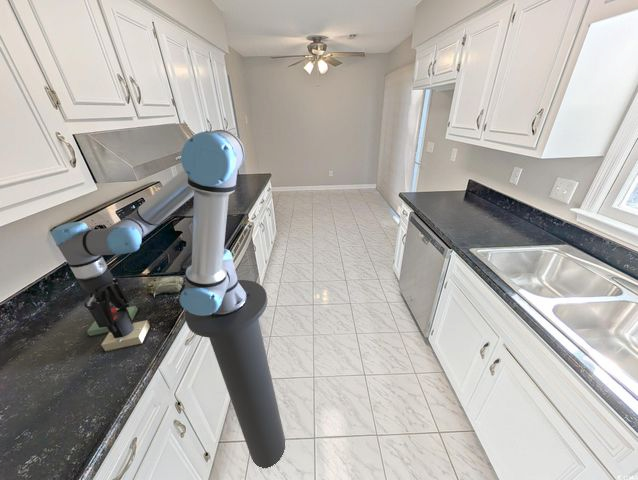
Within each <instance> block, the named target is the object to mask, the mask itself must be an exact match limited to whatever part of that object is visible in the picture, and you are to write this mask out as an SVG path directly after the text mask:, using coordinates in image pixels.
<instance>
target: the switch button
mask: <svg viewBox="0 0 638 480" xmlns="http://www.w3.org/2000/svg"><path fill="white" fill-rule="evenodd" d="M110 308H111V312H112V314H114V313H116V312H117V310H116V308H117V307H110Z"/></svg>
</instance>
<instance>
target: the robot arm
mask: <svg viewBox="0 0 638 480" xmlns="http://www.w3.org/2000/svg"><path fill="white" fill-rule="evenodd" d="M182 146H183V147H182V149H181V152H180V162H181V166H182V169H181V170H180V171H178V173H176V174H175V175H174V176H173V177H172V178H171V179H170V180H168V182H166V183H165V184H164V185H163V186H161V187H160V188H159V189H158V190H157V191H156V192H155V193H153V194H152V195H151V196H150V197H148V199H146V200H145V201H144V202H143V203H142V204H140V206H138V207H137V208H136V209H135V210H134V211H132V212H131V213H130V214H128V215H127V216H126V217H124V218H123V219H120V220H119V221H117V222H115V223H114V224H112V225H110V226H109V227H106V228H97V229H90V227H89V226H88V225H87V223H85V222H83V221H74V222H69V223H65V224H61V225H59V226H57V227H54V228H53V229H52V230H51V236H52V238H53V240H54V242H55V245H56V247H57V248H58V249H59V251H60V253H61V254H62V256H63V257H64V259H65V261H66V262H67V264H68V266H69V269H70V270H71V271H72V273H73V275H74V277H75V278H76V279H77V281H78V283H79V285H80V286H81V288H82V290H84V291H86V292H87V293H88V295H89V298H90V299H89V300H88V302H84V304H83V306H84V307H85V308H86V309H87V310H88V311H89V313H90V314H91V316H92V317H93V319H94V322H95V321H96V323H97V325H98V326H99V328H102V327H107V328H108V330H109V332H111V333H112V335H113V336H114V338H120V337H124V336H125V335H124V333H123V331H122V329H121V328H120V326H119V324H118V322H117V321H114V319H113V315H112V312H111V308H112V307H111V306H110V303H111V304H112V305H113V306H114V307H115V308H117V309H119V310H117V312H119V311H125V312H126V314H127V316H128V317H129V319H130V321H131V323H132V324H133V323H134V321H133V320H132V319H131V317H130V315H129V312H128V310H127V308H128V307H130V304H129V302H130V301H129V298H128V295H127V294H126V292H125V290H124V288H123V286H122V284H121V279H120V277H114V276H113V273H112V272H111V270H110V268H108V264H107V262H106V261H105V259H104V257H103V256H110V255H111V256H113V255H126V254H130V253H135V252H137V251H138V250H139V249H140V248H141V246H140V245H142V238H143V237H144V236H146V235H147V234H149V233H150V232H152V231H153V230H154V229H155V228H156V227H157V226H158V225H160V223H162V222H163V221H165V219H167V218H168V217H169V216H171V215H172V214H173V213H174V212H175V211H177V210H178V209H179V208H180V207H181V206H183V205H184V204H185V203H186V202H188V201H189V200H190V199H192V198H193V210H192V239H191V241H192V242H191V243H192V244H191V265H189V266H188V267H187V268H186V270H185V283H184V288H183V290H182V291H181V292H180V294H179V295H180V296H179V298H178V299H179V304H180V306H181V307H182V309H184V311H186V310H187V311H188V312H190V313H192V314H195V315H200V316H205V315H210V314H211V315H214V316H226V315H230V314H233V313H235V312H237V311H238V310H240V309H241V308H242V307H243V306H244V305H245V304H246V301H247V296H246V294H250V292H245V291H244V289H243V288H242V287H241V285H240V284H239V283H238V280H239V279H238V275H237V271H236V266H235V263H234V259H233V258H234V257H233V256H232V255H233V254H232V252H231V250H229V249H227V248H225V241H226V240H225V239H226V228H227V219H228V209H229V200H230V199H229V198H230V195H231V194H233V193H234V192H235V191H236V187H237V178H238V170H239V169H240V167H241V166H242V164H243V163H244V160H245V152H246V151H245V147H244V144H243V142H242V141H241V139H240V138H239V137H238V136H237V135H236V134H234V133H232V132H231V131H229V130H225V129H215V130H212V131H211V130H210V131H209V130H206V131H201V132H198V133H195V134H194V135H193V136H191V137H189V138H188V139H187V140H186V141H185V143H184V145H182ZM109 332H108V333H109Z"/></svg>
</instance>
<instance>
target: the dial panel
mask: <svg viewBox="0 0 638 480" xmlns="http://www.w3.org/2000/svg"><path fill="white" fill-rule="evenodd" d="M132 325H133V327H134V329H133V331H132V332H131V333H130V334H128V335H127V336H124V337H120V338H114V336H113V335H112V333H111V332H108V333H107V335H106V337H105V338H104V339H103V340H102V343H101V344H100V345H101V347H102V349H103V350H104V351H105V352H109V351H112V350H117V349H122V348H126V347H131V346H136V345H139V344H141V345H142V344H143V342H144V340H145V338H146V336H147V334H148V332H149V330H150V328H151V325H150V323H149V320H147V319H146V320H141V321H135V322H133V324H132Z"/></svg>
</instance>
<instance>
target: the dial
mask: <svg viewBox="0 0 638 480" xmlns="http://www.w3.org/2000/svg"><path fill="white" fill-rule="evenodd" d="M112 315H113V319H114V321H117V322H118V324H119V326H120V328H121V329H122V331H123V333H124V335H125V336H127V335H128V334H130V333H131V332H132V331H133V329H134V327H133V325H132V323H131V321H130V319H129V317H128V316H127V314H126V312H125V311H119V312H116V313H114V314H112Z"/></svg>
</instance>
